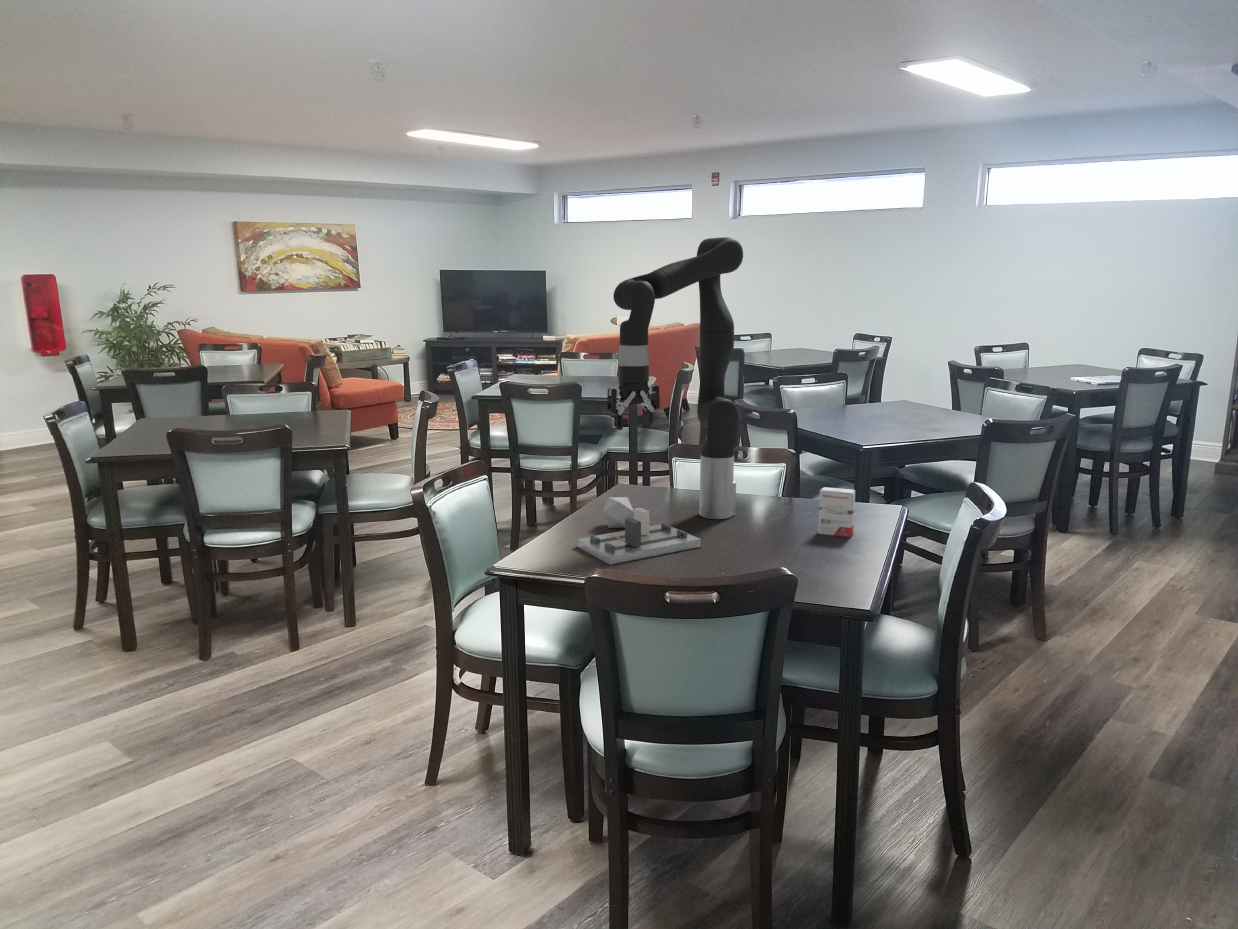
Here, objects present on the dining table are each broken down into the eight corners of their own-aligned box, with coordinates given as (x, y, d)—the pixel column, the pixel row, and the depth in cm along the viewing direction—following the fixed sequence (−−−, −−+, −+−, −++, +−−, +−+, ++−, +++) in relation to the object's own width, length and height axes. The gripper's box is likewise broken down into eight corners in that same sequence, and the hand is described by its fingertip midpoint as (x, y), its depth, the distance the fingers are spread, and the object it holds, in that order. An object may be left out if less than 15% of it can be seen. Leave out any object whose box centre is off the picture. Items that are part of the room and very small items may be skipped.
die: (622, 535, 220) (642, 504, 221) (594, 518, 220) (614, 487, 222) (622, 537, 228) (640, 507, 229) (595, 520, 228) (613, 490, 230)
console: (664, 530, 221) (664, 519, 221) (700, 546, 208) (701, 534, 207) (577, 546, 208) (577, 534, 207) (610, 564, 195) (610, 551, 194)
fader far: (640, 530, 214) (640, 507, 213) (649, 534, 211) (649, 511, 210) (633, 531, 213) (633, 508, 212) (642, 535, 210) (642, 512, 208)
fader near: (632, 541, 205) (632, 517, 203) (640, 546, 201) (641, 521, 200) (625, 543, 204) (625, 519, 202) (633, 547, 200) (634, 523, 199)
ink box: (854, 533, 220) (856, 489, 217) (850, 538, 215) (853, 493, 213) (820, 529, 223) (823, 485, 221) (816, 533, 219) (819, 489, 216)
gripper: (649, 360, 215) (649, 423, 218) (601, 363, 208) (601, 428, 211) (666, 363, 209) (665, 427, 212) (617, 366, 201) (617, 432, 205)
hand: (633, 427), depth 212 cm, fingers open, 8 cm apart
